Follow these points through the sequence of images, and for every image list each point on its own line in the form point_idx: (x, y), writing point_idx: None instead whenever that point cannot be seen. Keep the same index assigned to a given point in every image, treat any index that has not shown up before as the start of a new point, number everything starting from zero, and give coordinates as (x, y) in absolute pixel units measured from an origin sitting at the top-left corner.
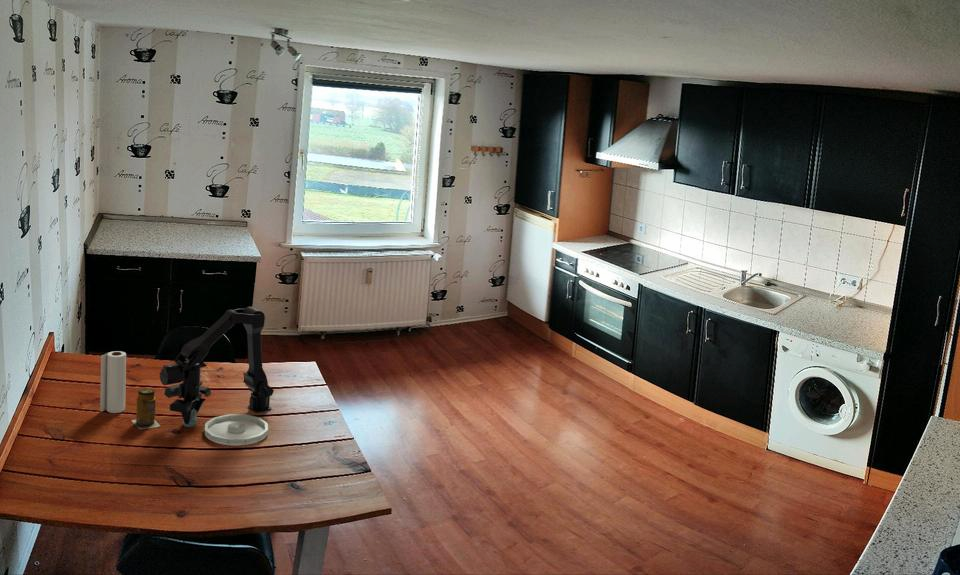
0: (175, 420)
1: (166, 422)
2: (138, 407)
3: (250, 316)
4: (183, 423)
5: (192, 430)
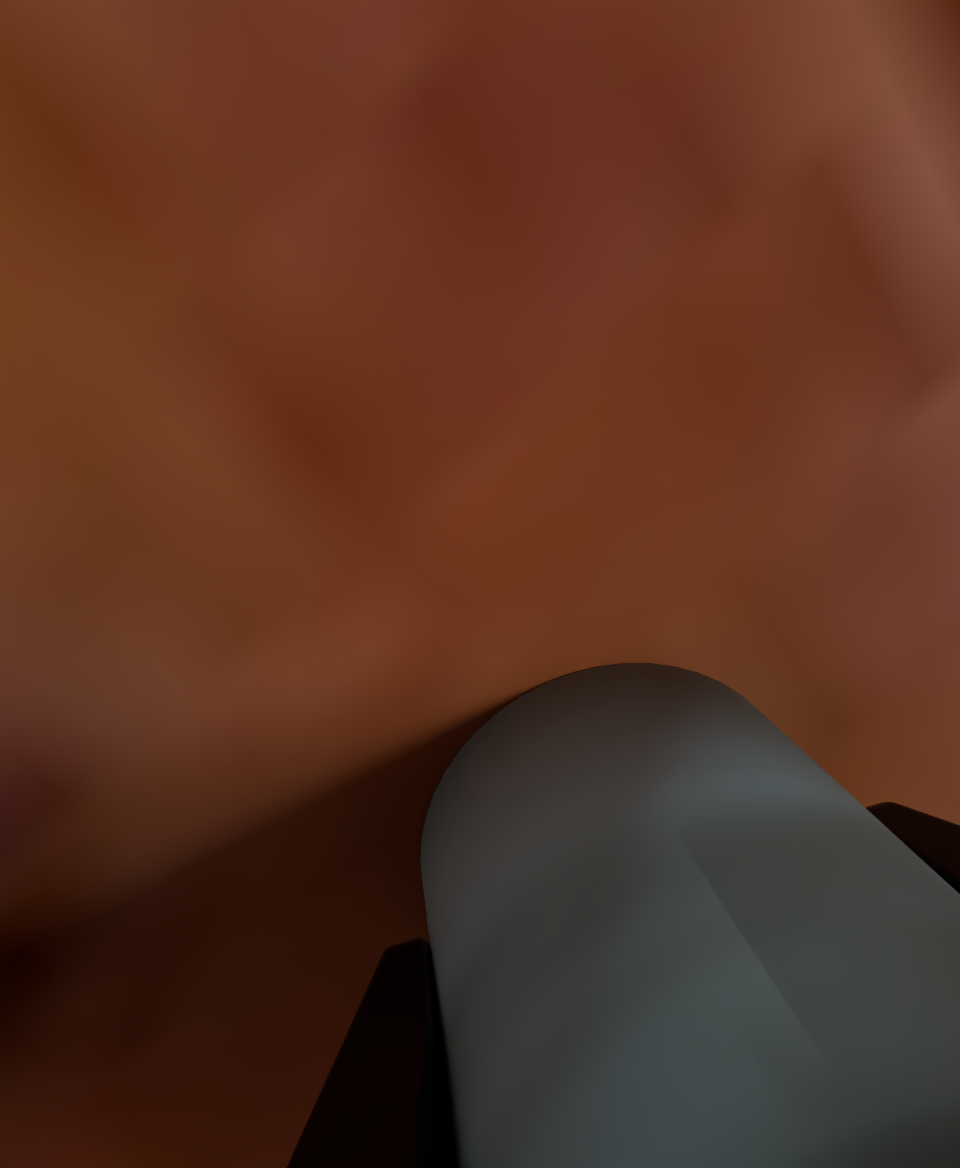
0: (628, 274)
1: (270, 101)
2: None
3: None
4: (453, 808)
5: None
